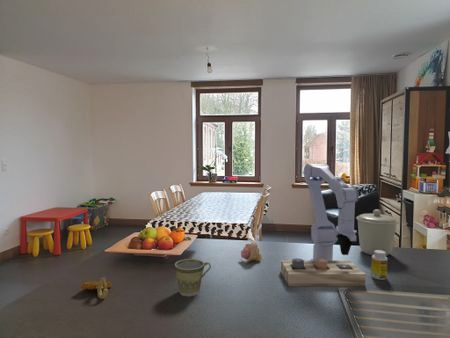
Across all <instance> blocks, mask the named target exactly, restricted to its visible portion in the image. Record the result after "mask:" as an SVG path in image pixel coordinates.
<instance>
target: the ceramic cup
mask: <svg viewBox="0 0 450 338" xmlns="http://www.w3.org/2000/svg"><path fill="white" fill-rule="evenodd" d="M207 265H209V267H208V269H206V271H204V268H205V266H207ZM211 268H212V265H211V263H210V262H204V261H203V260H200V259H198V258H197V259H196V258H186V259H181V260H178V261H176V262H174V270H175V271H174V272H175V275H176V280H177V286H178V292H179V294H180V295H181V296H183V297H193V296H197V295H198V294H199V293H200V290H201V283H202V279H203V277H205V275H206V274H207V273H208V272H209V271H210V270H211Z"/></svg>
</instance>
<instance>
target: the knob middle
mask: <svg viewBox="0 0 450 338" xmlns="http://www.w3.org/2000/svg"><path fill="white" fill-rule="evenodd" d="M327 262H328V261H327V260H325V259H316V261H315V268H316V269H327Z"/></svg>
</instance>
